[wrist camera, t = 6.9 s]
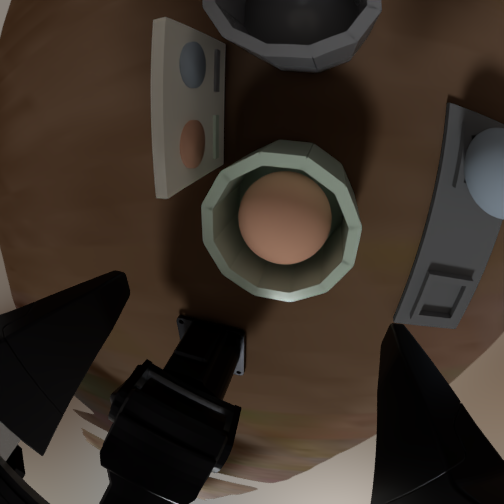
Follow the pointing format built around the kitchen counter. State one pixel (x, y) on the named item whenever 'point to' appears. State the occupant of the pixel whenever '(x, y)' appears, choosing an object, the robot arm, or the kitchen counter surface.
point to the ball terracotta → (284, 217)
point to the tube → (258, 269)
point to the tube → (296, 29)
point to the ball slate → (486, 171)
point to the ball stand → (450, 234)
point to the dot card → (185, 105)
